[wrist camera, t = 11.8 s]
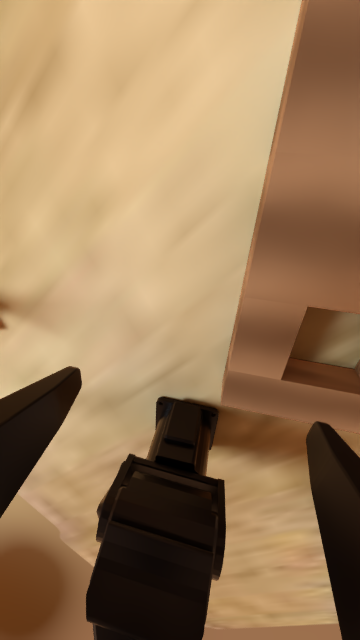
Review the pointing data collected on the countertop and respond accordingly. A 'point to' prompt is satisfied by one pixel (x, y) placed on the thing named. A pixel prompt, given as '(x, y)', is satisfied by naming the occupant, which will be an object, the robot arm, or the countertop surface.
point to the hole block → (305, 230)
